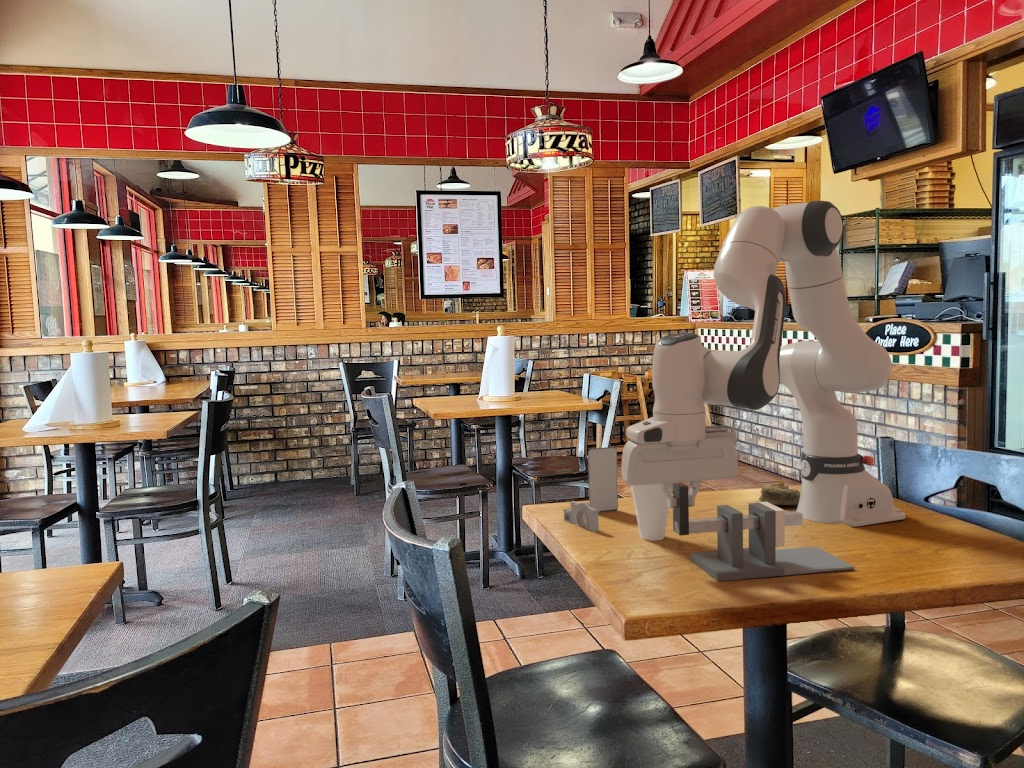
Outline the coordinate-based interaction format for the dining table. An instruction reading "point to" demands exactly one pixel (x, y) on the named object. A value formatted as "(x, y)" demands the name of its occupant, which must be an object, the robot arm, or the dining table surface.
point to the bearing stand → (732, 555)
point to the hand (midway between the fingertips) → (680, 506)
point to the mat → (808, 561)
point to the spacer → (778, 524)
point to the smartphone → (603, 479)
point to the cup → (650, 511)
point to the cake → (779, 494)
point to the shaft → (714, 524)
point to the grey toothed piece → (577, 515)
